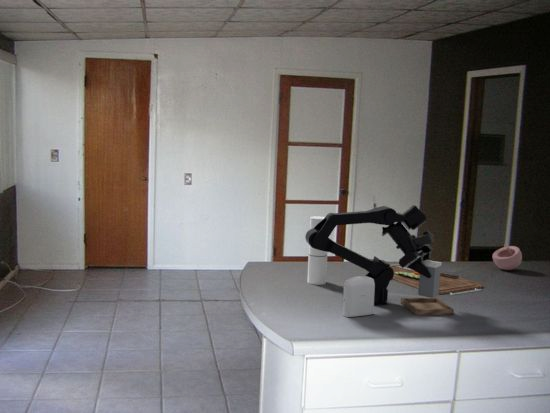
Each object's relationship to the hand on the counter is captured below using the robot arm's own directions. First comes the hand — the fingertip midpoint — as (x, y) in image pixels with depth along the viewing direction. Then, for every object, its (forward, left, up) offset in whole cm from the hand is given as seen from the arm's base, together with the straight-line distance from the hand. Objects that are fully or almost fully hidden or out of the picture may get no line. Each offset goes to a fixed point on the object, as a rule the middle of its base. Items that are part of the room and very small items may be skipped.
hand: (432, 275), depth 182 cm
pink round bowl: (+59, +56, -12) cm, 82 cm away
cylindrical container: (-31, +35, -12) cm, 48 cm away
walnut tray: (-1, +1, -11) cm, 11 cm away
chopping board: (+14, +40, -12) cm, 45 cm away
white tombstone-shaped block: (-26, -4, -12) cm, 29 cm away
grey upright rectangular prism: (-1, +1, -7) cm, 7 cm away
